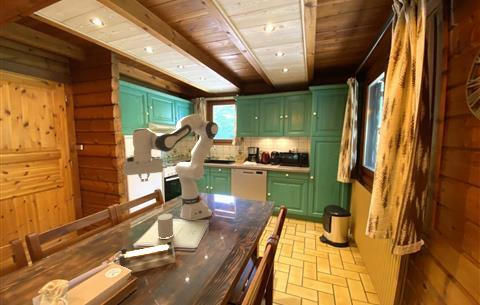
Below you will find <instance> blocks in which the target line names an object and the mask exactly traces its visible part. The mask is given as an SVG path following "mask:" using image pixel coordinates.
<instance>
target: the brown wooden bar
mask: <svg viewBox="0 0 480 305" xmlns="http://www.w3.org/2000/svg"><path fill="white" fill-rule="evenodd" d="M162 245H163V246H161V245H156V246H157V247H156V246H151V247H152V248H151V247H148V248H147V247H146V248H147V249H146V248H143V249H138V250H132V251H127V252H126V253H120V254H121V256H123V255H125V260H126V259H131V258H136V257H141V256H146V255H151V254H156V253H160V252H165V251H168V247H171V244H168V245H165V244H162Z"/></svg>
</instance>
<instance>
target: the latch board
mask: <svg viewBox="0 0 480 305" xmlns="http://www.w3.org/2000/svg"><path fill="white" fill-rule="evenodd" d="M168 244H171V247H168V251H165V252H160V253H156V254H151V255H146V256H141V257H136V258H131V259H126V260H125V255H123V256H121V253H126V252H128V248H127V246H124V247H122V248H121V249H120V252H121V253H120V255H119V257H118V262H117V265H121V266H123V267H126V268H128V269H130V270H132V273H131V274H135V273H138V272H142V271H145V270H151V269H154V268H158V267H162V266H165V265H170V264H174V263H176V252H175V246H174V242H172V239H168V240H166V244H161V245H160V246H163V245H168ZM157 246H158V245H156V246H155V247H157ZM152 247H153V246H151V247H150V248H152ZM145 249H147V247H146V248H145Z"/></svg>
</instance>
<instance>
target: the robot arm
mask: <svg viewBox="0 0 480 305" xmlns="http://www.w3.org/2000/svg"><path fill="white" fill-rule="evenodd" d="M176 128H177V129H176V130H174V131H172V132H171V133H157V132H154V131H152V130H150V129H149V128H148V127H141V128H140V127H139V128H136V129H134V130H133V132H132V145H133V148H134V149H133V154H132V155H129V156H126V157H125V158H124V164H123V168H122V175H124V176H134V175H136V176H137V175H138V178H140V182H141V183H142V182H149V177H150V176H151V175H150V174H156V173H162V172H163V171H164V166H163V163H164V158H163V157H162V156H160V155H158V156H152V150H156V151H160V152H164V153H166V152H170V151H172V150H173V149H174V147H175V146H177V144H178V143H179V142H181V141H182V140H183V139H185V138H186V137H188V136H189V135H190V134H191V133H192V134H194V135H197V136H199V139H198V141H197V142H196V143H195V145H194V147H193V148H192V150H191V151H190V155H191V156H190V157H191V159H190V161H181V162H178V163H177V164H176V165H175V169H174V170H175V173H176V174H177V176H178V178H179V182H180V186H181V198H180V199H181V200H180V201H181V212H180V215H179V216H180V218H181V219H183V220H187V221H191V220H193V221H197V220H201V219H205V218H207V217H211V216H212V215H213V212H212V210H211V209H210V208H209V206H208V204H207V203H205V202H204V201H202V200H203V198H202V196H200V195H199V194H198V190H199V189H198V188H199V187H198V184H197V182H196V181H195V180H201V179H202V178H203V177H204V176H205V169H204V162H205V161H206V158H207V156H208V154H209V153H210V151H211V148H212V146H213V143H214V138H215V137H216V135H217V134H218V131H219V127H218V124H217V123H216V122H214V121H209V120H203V117H202V116H201V115H200V114H198V113H193V114H189V115H187V116H185V117H182V118H181V119H179V120H178V121H177V123H176ZM144 174H145V175H147V176H146V177H143V176H142V175H144Z"/></svg>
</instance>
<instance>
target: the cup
mask: <svg viewBox="0 0 480 305" xmlns="http://www.w3.org/2000/svg"><path fill="white" fill-rule="evenodd" d="M173 218H174V216H173V214H171V213H164V214H160V215H158V217H157V234H158V235H157V236H159V237H161V238H166V237H170V236H172V235H173V236H174V223H173V222H174V220H173Z"/></svg>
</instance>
